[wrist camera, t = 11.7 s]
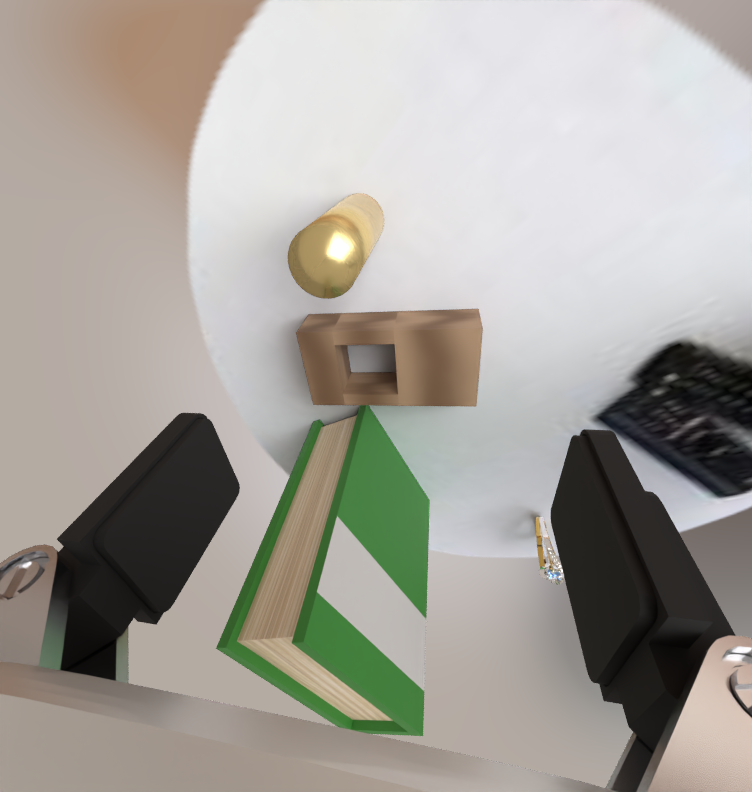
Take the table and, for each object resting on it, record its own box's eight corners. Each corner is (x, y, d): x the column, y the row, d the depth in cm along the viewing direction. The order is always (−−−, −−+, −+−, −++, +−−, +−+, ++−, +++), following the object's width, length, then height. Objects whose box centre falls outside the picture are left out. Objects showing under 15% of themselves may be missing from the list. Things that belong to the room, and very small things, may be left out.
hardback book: (313, 421, 44) (216, 648, 25) (366, 403, 41) (303, 642, 22) (381, 510, 52) (347, 732, 33) (429, 500, 50) (423, 735, 30)
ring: (557, 534, 50) (574, 594, 44) (532, 537, 51) (545, 595, 45) (549, 502, 47) (567, 562, 40) (523, 505, 48) (536, 564, 41)
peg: (382, 191, 29) (352, 222, 19) (385, 244, 31) (361, 297, 21) (332, 195, 29) (280, 228, 20) (340, 247, 32) (296, 299, 22)
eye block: (478, 308, 33) (482, 328, 30) (473, 382, 38) (476, 406, 35) (308, 314, 36) (296, 332, 33) (323, 382, 40) (313, 404, 37)
